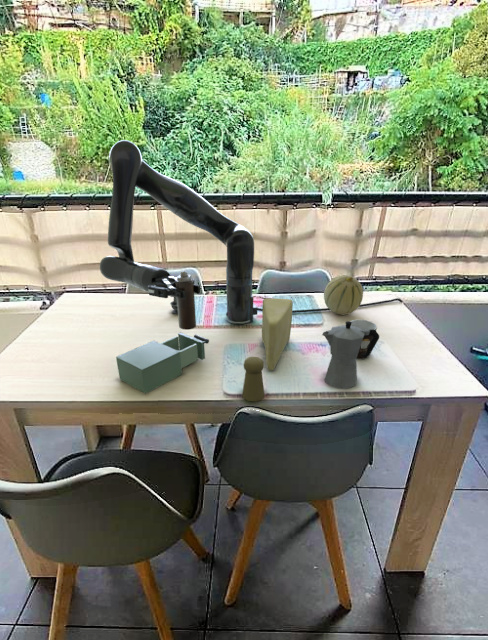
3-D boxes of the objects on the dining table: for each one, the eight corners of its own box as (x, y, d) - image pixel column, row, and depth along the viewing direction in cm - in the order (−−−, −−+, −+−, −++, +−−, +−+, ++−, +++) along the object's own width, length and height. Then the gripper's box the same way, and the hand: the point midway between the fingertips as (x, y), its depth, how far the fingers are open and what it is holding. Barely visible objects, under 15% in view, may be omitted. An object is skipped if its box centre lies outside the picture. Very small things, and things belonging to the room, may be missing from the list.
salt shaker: (187, 309, 165) (185, 279, 158) (184, 315, 160) (182, 284, 153) (173, 308, 165) (170, 279, 159) (169, 314, 160) (166, 284, 154)
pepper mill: (195, 322, 121) (192, 268, 113) (196, 329, 117) (193, 273, 108) (178, 323, 120) (174, 268, 112) (179, 330, 116) (174, 274, 108)
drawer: (192, 343, 136) (191, 327, 133) (215, 353, 131) (214, 336, 128) (151, 363, 125) (149, 346, 122) (174, 374, 119) (173, 356, 116)
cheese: (287, 372, 122) (290, 325, 114) (254, 370, 123) (254, 323, 115) (290, 340, 141) (293, 297, 133) (261, 338, 142) (262, 296, 134)
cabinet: (156, 362, 127) (153, 340, 123) (182, 374, 121) (180, 351, 117) (119, 379, 118) (115, 356, 115) (145, 393, 112) (142, 369, 108)
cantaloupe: (331, 303, 171) (336, 267, 163) (366, 311, 163) (372, 273, 156) (315, 314, 160) (318, 276, 153) (350, 323, 153) (356, 283, 145)
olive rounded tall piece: (241, 389, 114) (241, 353, 108) (263, 388, 114) (264, 353, 109) (243, 402, 109) (243, 365, 103) (265, 400, 109) (267, 364, 104)
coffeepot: (320, 389, 114) (327, 329, 105) (314, 372, 122) (320, 315, 113) (376, 388, 114) (388, 328, 105) (366, 371, 123) (376, 314, 113)
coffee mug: (372, 350, 134) (378, 321, 129) (370, 362, 127) (376, 332, 122) (336, 345, 137) (340, 317, 132) (332, 356, 130) (336, 327, 125)
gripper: (129, 272, 114) (170, 285, 105) (169, 261, 124) (210, 272, 114) (132, 298, 118) (173, 313, 109) (171, 285, 127) (211, 298, 118)
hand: (191, 292), depth 111 cm, fingers closed on pepper mill, 5 cm apart
